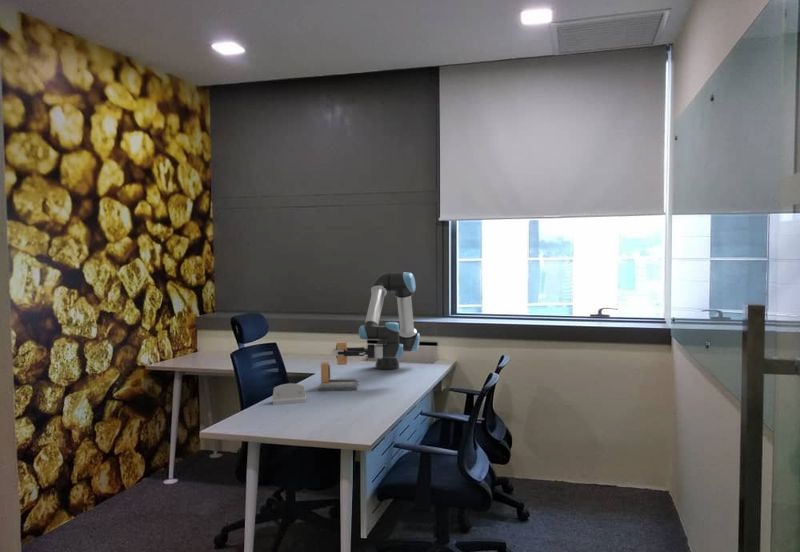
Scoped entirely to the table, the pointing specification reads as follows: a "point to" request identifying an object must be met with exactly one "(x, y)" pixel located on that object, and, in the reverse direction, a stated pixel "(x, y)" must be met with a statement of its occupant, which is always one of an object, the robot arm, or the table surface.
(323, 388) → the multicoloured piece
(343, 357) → the orange wooden block
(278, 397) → the hinge
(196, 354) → the table surface
